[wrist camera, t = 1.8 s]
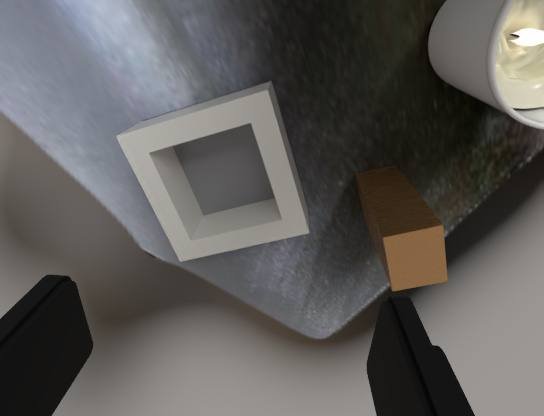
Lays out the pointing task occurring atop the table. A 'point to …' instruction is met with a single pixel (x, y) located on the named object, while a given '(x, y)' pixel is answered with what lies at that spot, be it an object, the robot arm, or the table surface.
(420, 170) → the table surface
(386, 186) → the wooden square beam
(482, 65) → the candle holder
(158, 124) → the well
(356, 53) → the table surface
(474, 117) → the table surface
